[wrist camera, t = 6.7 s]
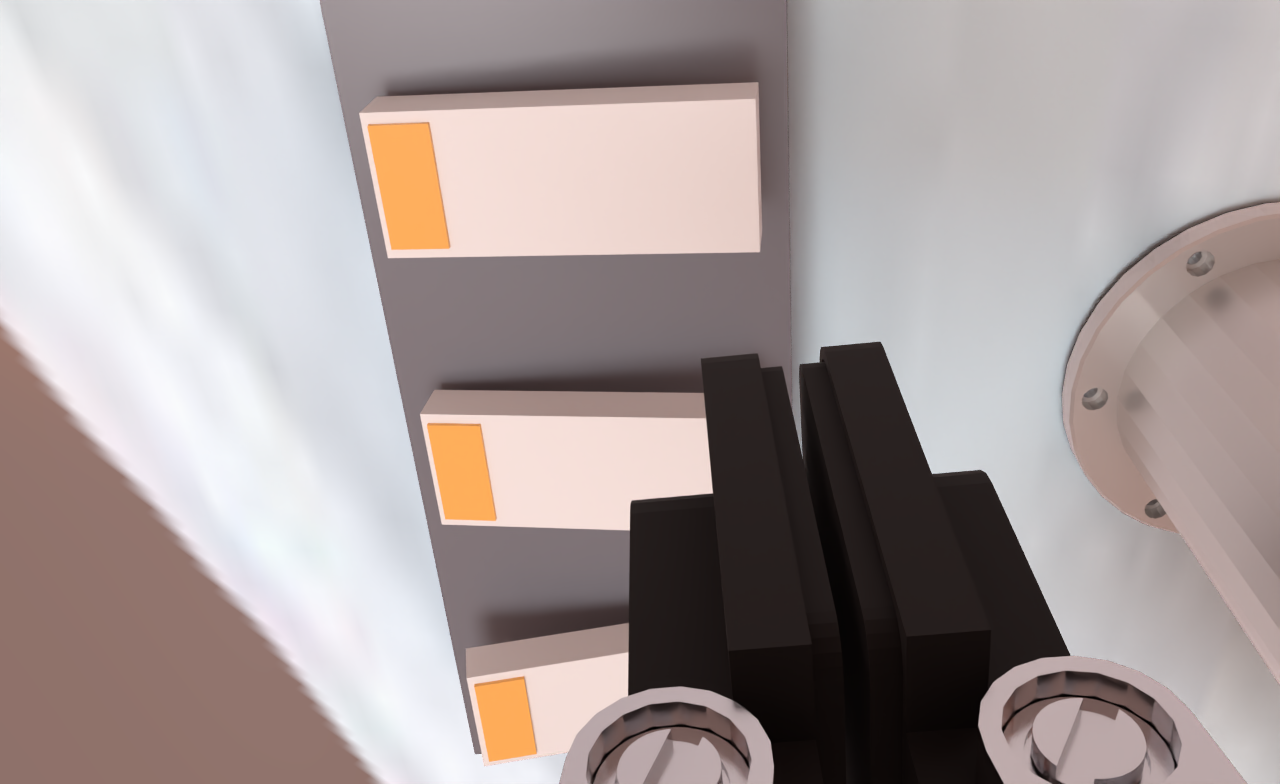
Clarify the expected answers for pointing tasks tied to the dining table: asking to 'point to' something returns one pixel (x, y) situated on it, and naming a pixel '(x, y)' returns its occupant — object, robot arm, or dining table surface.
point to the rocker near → (568, 171)
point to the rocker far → (544, 690)
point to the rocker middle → (562, 455)
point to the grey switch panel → (562, 268)
